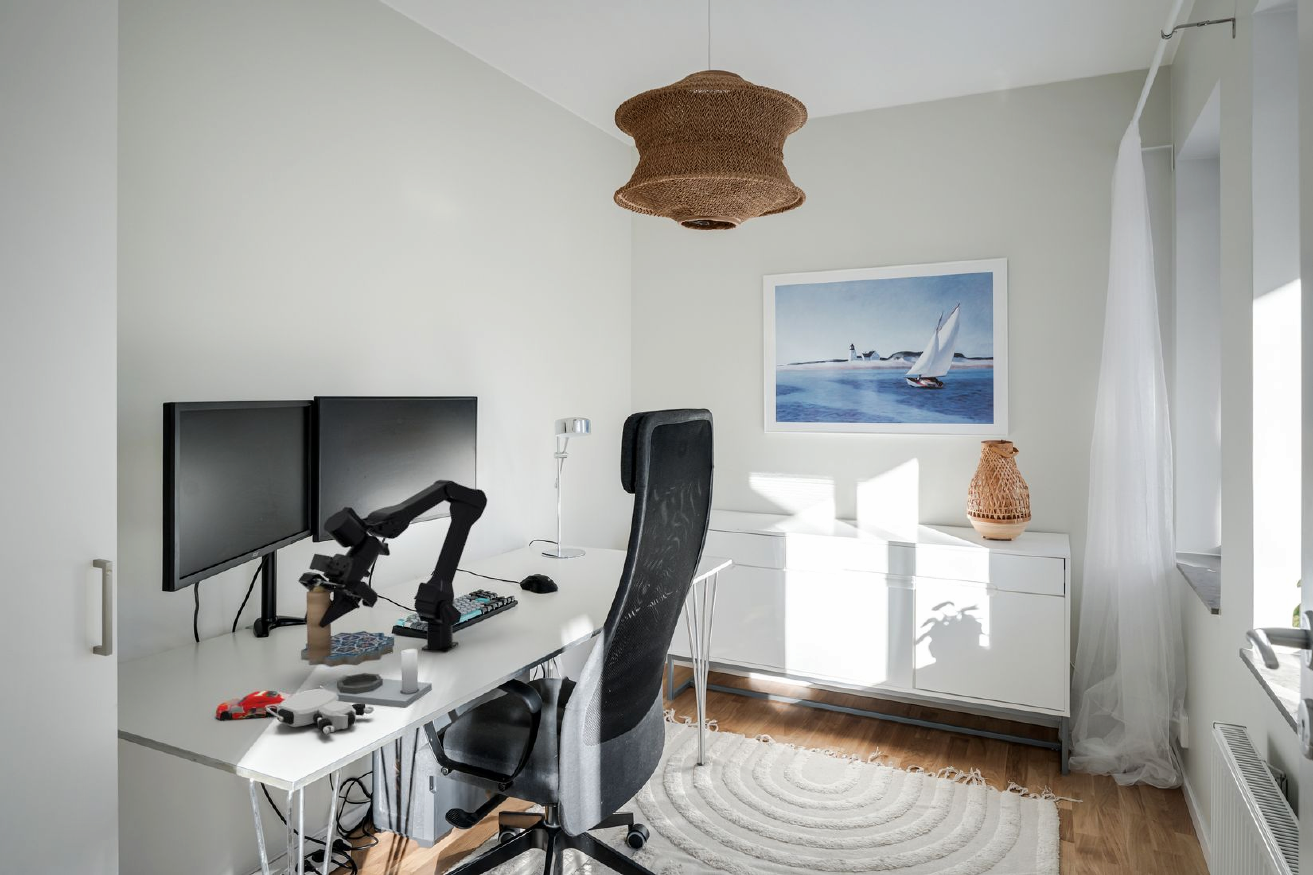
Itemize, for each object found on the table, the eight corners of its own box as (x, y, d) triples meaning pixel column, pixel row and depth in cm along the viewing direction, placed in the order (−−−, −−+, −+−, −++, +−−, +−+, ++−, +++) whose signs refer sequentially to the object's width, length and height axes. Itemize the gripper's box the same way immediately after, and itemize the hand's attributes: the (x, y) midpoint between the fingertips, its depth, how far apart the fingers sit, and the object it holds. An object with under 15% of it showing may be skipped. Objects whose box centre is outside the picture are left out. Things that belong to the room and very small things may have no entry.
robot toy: (378, 723, 144) (316, 704, 149) (379, 699, 143) (318, 681, 149) (326, 749, 132) (262, 728, 138) (327, 723, 132) (263, 703, 138)
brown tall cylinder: (316, 651, 160) (315, 582, 160) (335, 652, 160) (334, 583, 159) (302, 658, 156) (301, 587, 155) (322, 659, 155) (321, 588, 155)
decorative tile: (369, 635, 196) (369, 626, 196) (409, 653, 182) (409, 643, 182) (287, 653, 181) (287, 643, 181) (324, 674, 168) (324, 663, 167)
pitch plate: (344, 680, 163) (343, 637, 162) (431, 688, 158) (431, 644, 158) (313, 698, 153) (312, 651, 153) (405, 707, 149) (405, 659, 148)
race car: (211, 723, 142) (210, 701, 141) (222, 711, 147) (222, 690, 147) (288, 718, 144) (288, 696, 144) (297, 706, 149) (296, 686, 149)
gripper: (305, 534, 165) (257, 596, 156) (365, 542, 156) (317, 609, 147) (338, 564, 172) (293, 625, 163) (396, 574, 163) (353, 640, 154)
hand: (312, 624), depth 156 cm, fingers closed on brown tall cylinder, 4 cm apart
